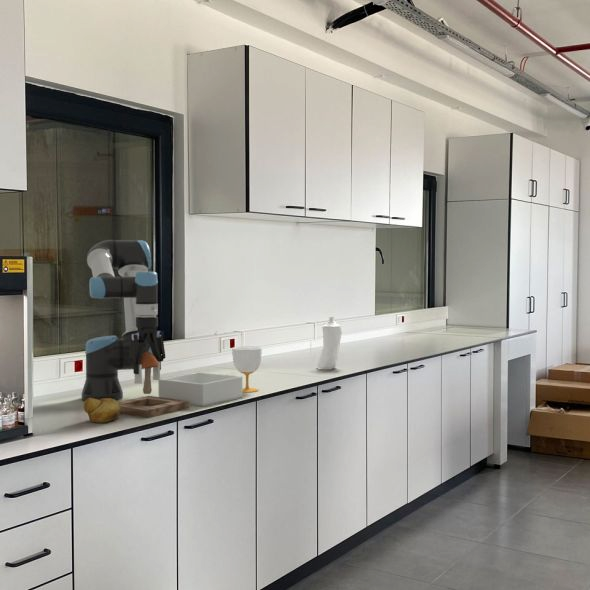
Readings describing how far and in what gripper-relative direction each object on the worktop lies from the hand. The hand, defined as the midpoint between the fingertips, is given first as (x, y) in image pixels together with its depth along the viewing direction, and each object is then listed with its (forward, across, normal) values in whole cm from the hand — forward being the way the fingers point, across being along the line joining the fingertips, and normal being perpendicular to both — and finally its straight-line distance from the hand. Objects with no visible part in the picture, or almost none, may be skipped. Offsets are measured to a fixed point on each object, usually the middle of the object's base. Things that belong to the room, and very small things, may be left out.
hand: (147, 381), depth 262 cm
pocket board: (+10, 0, 0) cm, 10 cm away
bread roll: (+10, -20, -1) cm, 22 cm away
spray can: (+11, +123, +3) cm, 123 cm away
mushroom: (+4, 0, 0) cm, 4 cm away
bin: (+10, +25, -2) cm, 27 cm away
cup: (+10, +50, -4) cm, 51 cm away
